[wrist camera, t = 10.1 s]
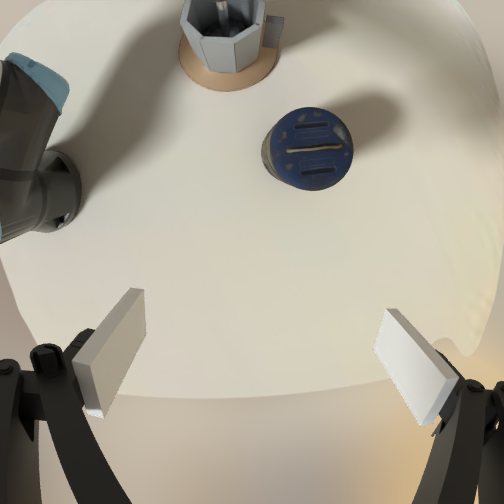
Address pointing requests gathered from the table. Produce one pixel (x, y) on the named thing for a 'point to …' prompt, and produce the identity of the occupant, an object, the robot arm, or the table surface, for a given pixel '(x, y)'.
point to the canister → (308, 149)
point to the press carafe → (228, 45)
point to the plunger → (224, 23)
